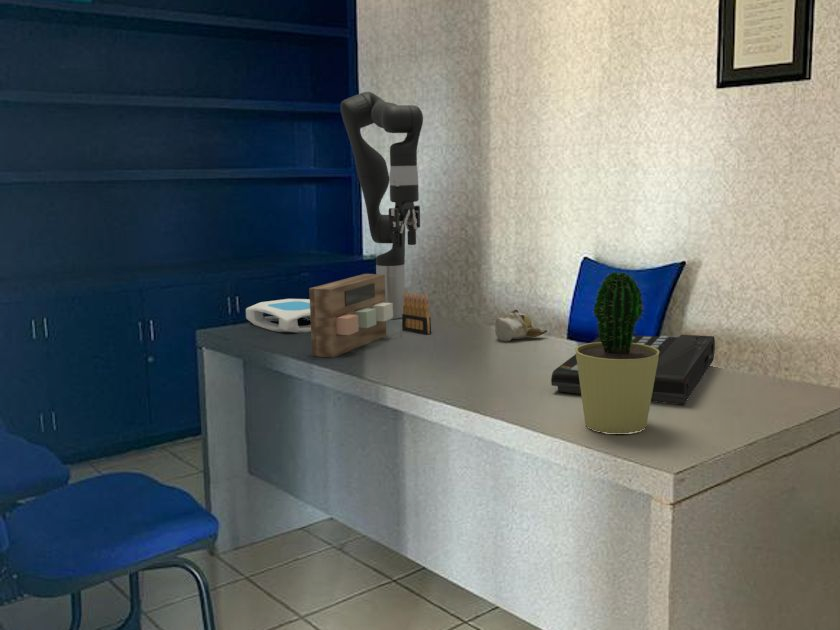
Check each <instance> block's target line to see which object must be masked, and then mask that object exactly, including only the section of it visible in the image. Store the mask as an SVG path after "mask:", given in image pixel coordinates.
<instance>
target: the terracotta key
mask: <svg viewBox="0 0 840 630" xmlns="http://www.w3.org/2000/svg"><path fill="white" fill-rule="evenodd" d="M358 331H359V325H358V315H350V314H343V315H340V316H337V317H336V334H340V335H350V334H353V333H355V332H358Z"/></svg>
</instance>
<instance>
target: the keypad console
mask: <svg viewBox="0 0 840 630" xmlns="http://www.w3.org/2000/svg"><path fill="white" fill-rule="evenodd" d="M308 290H309V292H308V293H309V299H310V318H311V321H310V325H311V331H310V334H311V337H310V338H311V356H312V357H322V358H323V357H324V358H336V357H338V356H342V355H343V354H346V353H348V352H350V351H353V350H355V349H358V348H360V347H362V346H365V345H367V344H370V343H372V342H374V341H377V340H379V339H382V338H384V337H386V336H387V321H384V322H383V321H376V325H374V326H371V327H369V328H359V331H358V332H355V333H353V334H350V335H340V334H336V317H337V316H340V315H343V314H350V315H355V310H358V309H361V308H370V309H372V305H373V304H376V303H379V302H382V303H385V275H382V274H375V273H362V274H360V275H359V274H358V275H355V276H351V277H348V278H344V279H343V278H342V279H340V280H336V281H332V282H328V283H325V284H321V285H317V286H314V287H309V288H308Z"/></svg>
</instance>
